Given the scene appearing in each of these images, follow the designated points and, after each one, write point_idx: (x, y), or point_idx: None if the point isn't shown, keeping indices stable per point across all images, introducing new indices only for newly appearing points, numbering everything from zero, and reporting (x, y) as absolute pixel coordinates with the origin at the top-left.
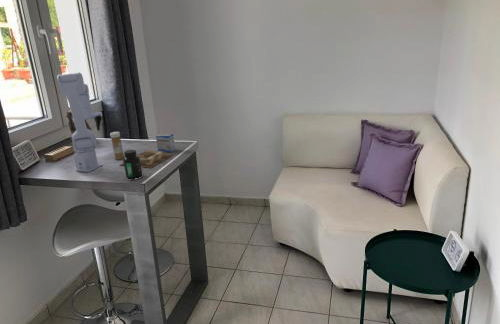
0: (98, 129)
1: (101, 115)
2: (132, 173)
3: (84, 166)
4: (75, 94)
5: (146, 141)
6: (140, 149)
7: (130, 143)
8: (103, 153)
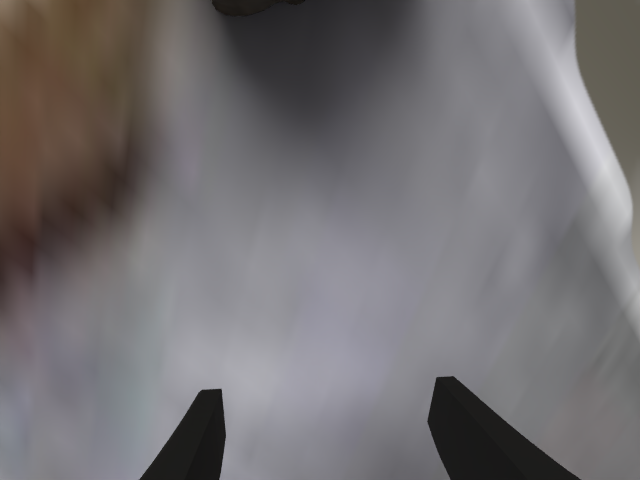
0: (438, 446)
1: None
2: None
3: None
4: None
5: (628, 321)
6: None
7: (552, 283)
8: (330, 371)
